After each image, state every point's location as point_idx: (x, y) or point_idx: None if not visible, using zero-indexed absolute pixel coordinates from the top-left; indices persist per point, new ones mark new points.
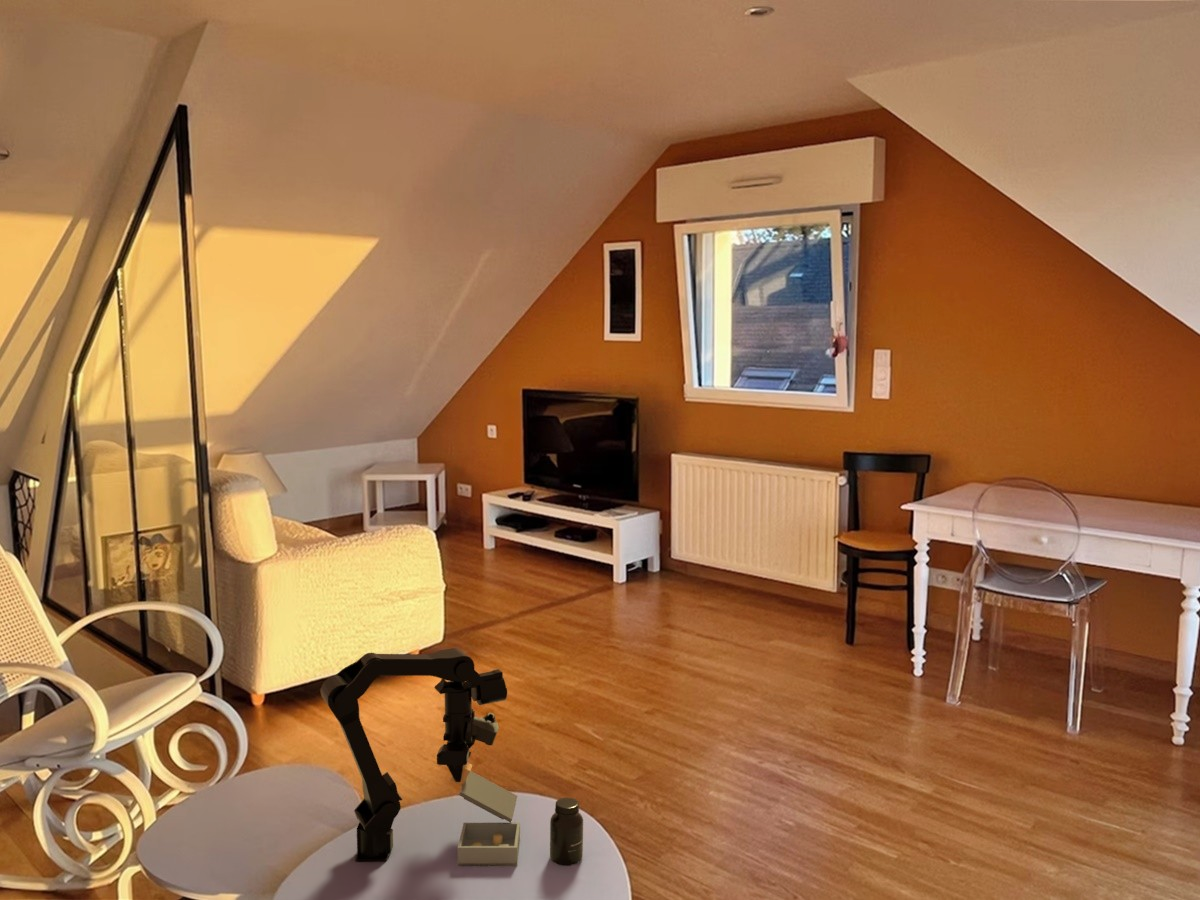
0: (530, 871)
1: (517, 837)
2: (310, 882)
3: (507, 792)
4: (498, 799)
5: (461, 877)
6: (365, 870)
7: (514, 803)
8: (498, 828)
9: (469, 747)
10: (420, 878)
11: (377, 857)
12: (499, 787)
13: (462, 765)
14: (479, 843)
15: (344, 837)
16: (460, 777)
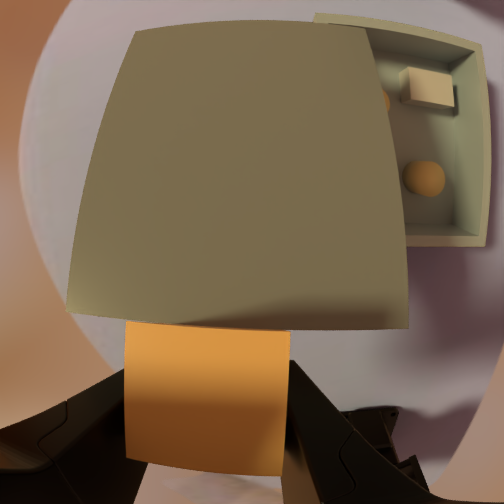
0: (465, 31)
1: (426, 31)
2: (424, 476)
3: (139, 61)
4: (253, 80)
5: (495, 215)
6: (417, 427)
7: (214, 24)
8: None
9: (4, 479)
10: (480, 317)
11: (388, 426)
12: (120, 98)
13: (393, 468)
14: (421, 169)
15: (279, 482)
16: (309, 382)
